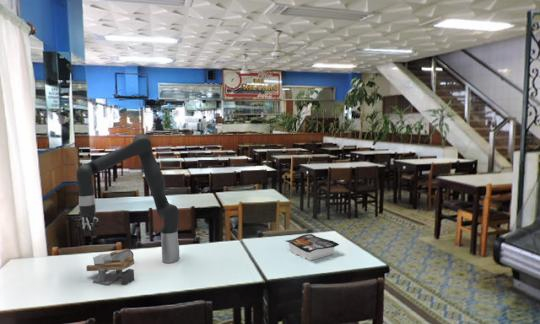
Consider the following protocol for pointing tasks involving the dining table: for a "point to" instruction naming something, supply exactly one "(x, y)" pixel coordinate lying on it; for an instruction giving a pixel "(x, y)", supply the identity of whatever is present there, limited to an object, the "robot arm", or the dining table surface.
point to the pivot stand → (115, 277)
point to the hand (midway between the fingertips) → (89, 235)
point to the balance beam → (113, 265)
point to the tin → (121, 254)
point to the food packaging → (311, 246)
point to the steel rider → (102, 259)
